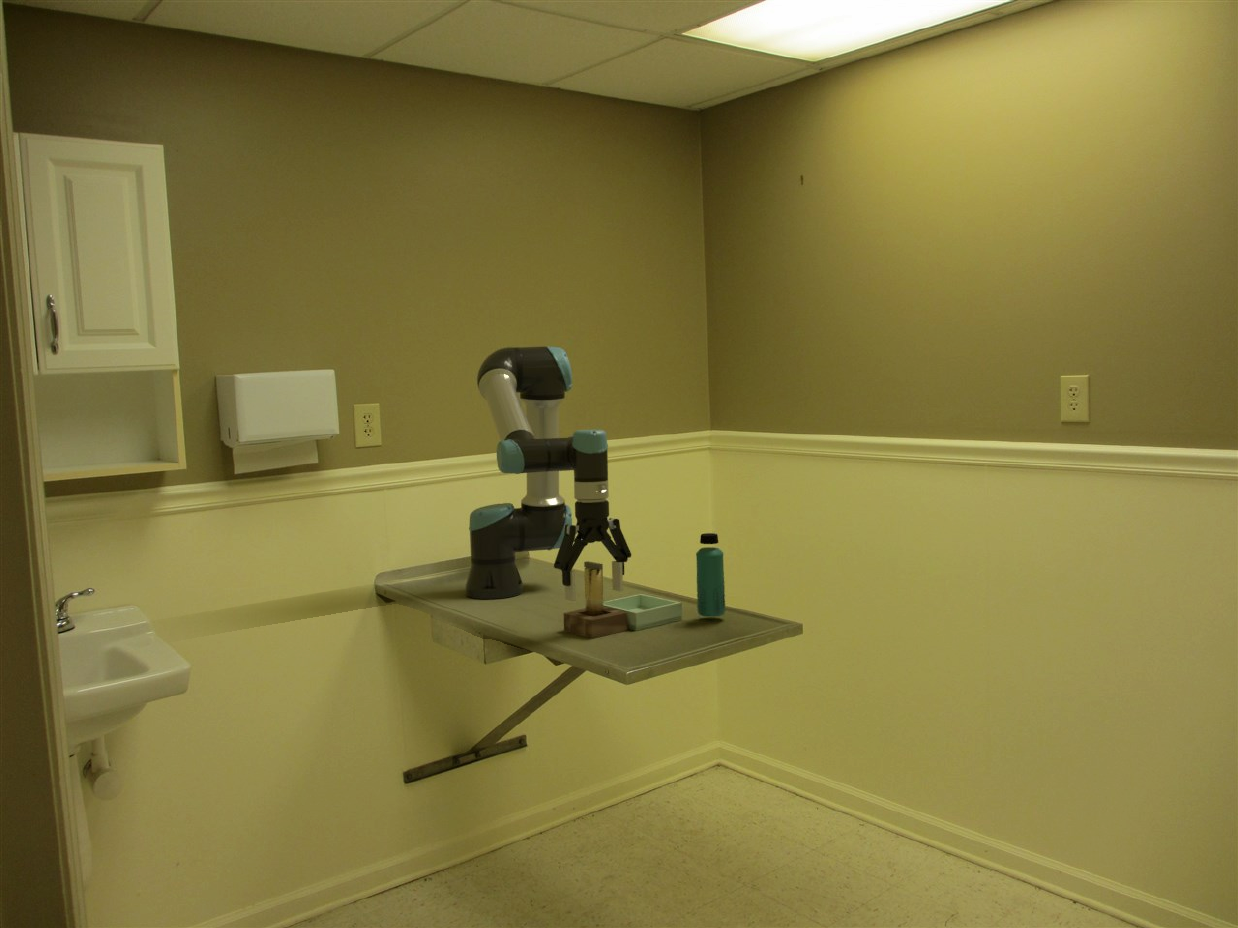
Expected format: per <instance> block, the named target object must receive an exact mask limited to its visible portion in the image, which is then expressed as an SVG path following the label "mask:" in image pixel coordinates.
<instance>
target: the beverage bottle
mask: <svg viewBox="0 0 1238 928" xmlns="http://www.w3.org/2000/svg"><path fill="white" fill-rule="evenodd" d="M718 537H719V536H718V533H715V532H712V533H711V532H707V533H701V534H700V539H699V540H700V541H699V543H700V544H703V545H715V544H719V538H718ZM695 556H696V558H695V559H696V586H695V587H696V592H697V593H696V597H697V598H696V600H697V604H696V607H697V613H698V615H699V616H703V617H711V618H712V617H713V618H714V617H721V616H723V615H725V613H726V609H727V608H726V594H725V593H726V592H725V591H726V589H725V588H726V586H725V585H726V584H725V568H724V565H725V564H724V552H723V551H722V550H721V549H720V548H719V547H715V546H714V547H713V546H708V547H702V548H699V550H697V552H696V553H695Z"/></svg>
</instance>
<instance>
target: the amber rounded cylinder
mask: <svg viewBox="0 0 1238 928" xmlns="http://www.w3.org/2000/svg"><path fill="white" fill-rule="evenodd" d="M583 563H584V564H583V565H584V566H583V567H584V593H585V595H584V596H585V597H584V598H585V608H586V615H588V616H592V617H595V616H599V615H604V602H605V599H604V575H603V574H604V573H603V571H604V568H603V567H604V566H603V563H599V562H593V561H584V562H583Z"/></svg>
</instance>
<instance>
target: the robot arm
mask: <svg viewBox="0 0 1238 928" xmlns="http://www.w3.org/2000/svg"><path fill="white" fill-rule="evenodd" d="M476 376H477V377H476V384H477V389H478V391H479V393H480V396H481V397H482V398H483V399H485V400H486V403H487V405H488V407H489V410H490V413H491V416H492V419H493V422H494V424H495V427H496V431H497V433H498V436H499V439H500V441H499V442H498V443H497V446H496V461H497V468H498V470H499V471H500V472H501V473H503V474H515V475H520V474H526V495H525V496H524V497H523V498H522V499H521V501H520V504H521V506H520V507H516V508H515V506H514V504H513V503H511V502H503V503H494V504H489V505H485V506H480V507H477V508H476V509H474V510H473V511H471V512H470V515H469V527H468V530H469V537H470V538H469V541H470V567H469V568H470V569H469V571H468V572H469V573H468V577H467V579H466V580H467V581H466V584H465V589H464V590H465V596H466V597H469V598H473V599H482V600H483V599H485V600H493V599H505V598H511V597H512V598H513V597H515V596H519V595H521V594H523V592H524V584H523V580H522V578H521V575H520V572H519V570H518V566H517V563H516V553H523V552H534V551H535V552H536V551H552V550H556V549H557V550H558V549H559V550H558V552H557V555H556V558H555V561H554V564H553V568H555V569H557V570H560V571H561V579H562V586H564V596H565V597H564V599H565V601H566V600H567V601H571V602H576V601H577V599H576V572H575V570H572V569H573V568H574V567H575V564H576V562H577V561H578V559H579V557H580V555H581V554H582V552H583V551H584V549H585V547H587V546H588V544H593V543H595V542H597V543H599V542H601V543H602V545H603V546H604V547H605V549H606V550H607V551H608V553H609V554H610V555H611V556H612V558H613V559H614V560H612V561H611V572H612V573H611V577H612V578H611V579H612V590H613V591H617V592H623V591H624V581H623V576H625V563H627V562H628V560H629V559H630V558H631V557H632V552H631V550H630V548H629V546H628V543H627V540H626V538H625V536H624V533H623V531H622V529H621V525H620V520H619V518H612V517H610V502H609V501H608V498H609V497H610V496H609V494H610V493H609V459H608V457H609V456H608V455H609V454H608V449H609V448H608V447H609V444H608V439H607V438H608V437H607V433H606V431H605V430H604V429H580V430H579V429H578V430H575V431H574V432H573V434H572V436H568V437H560V422H559V421H560V408H559V407H560V405H561V403H562V402H563V401H564V400H565V392H566V393H568V392H569V391H571V389H572V383H573V377H572V376H573V375H572V368H571V362H570V360H569V358H568V355H567V353H566V351H565V350H564V349H563V348H562V347H559V346H558V347H557V346H546V345H545V346H524V347H523V346H522V347H520V346H518V347H517V346H516V347H515V346H514V347H513V346H508V347H503V348H500V349H497V350H495V351H493V352H491V354H489V355H488V356H486V358H485V359H484V360H483V362H482V363H481V365H480V367H479V369H478V371H477V375H476ZM518 394H519V395H518ZM522 403H524V404H525V410H524V408H523V405H522ZM562 471H564V472H565V471H566V472H567V471H573V479H574V480H573V487H574V488H573V491H574V492H573V494H574V497H573V498H574V499H575V500H576V501H575V502H574V515H575V518H576V524H575V525H574V524H573V517H572V514H573V513H572V510H571V507H570V506H569V505H567V504H566V503H565V501H566V500H565V498H563V496H562V495H560V472H562ZM608 517H610V518H608ZM608 530H609V532H610V534H609V533H608ZM612 539H613V540H612Z"/></svg>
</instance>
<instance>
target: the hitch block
mask: <svg viewBox="0 0 1238 928" xmlns="http://www.w3.org/2000/svg"><path fill="white" fill-rule="evenodd" d="M563 631H564V632H568V633H572V634H575V635H578V636H581V637H586V638H589V639H596V638H600V637H605V636H608V635H609V636H610V635H613V634H616V633H621V632H625V631H628V629H627V612H623V611H619V610H615V609H611V608H606V607H604V615H599V616H595V617H592V616H588V615H586V607H584V608H580V609H576V610H571V611H567V612H563Z"/></svg>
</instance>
